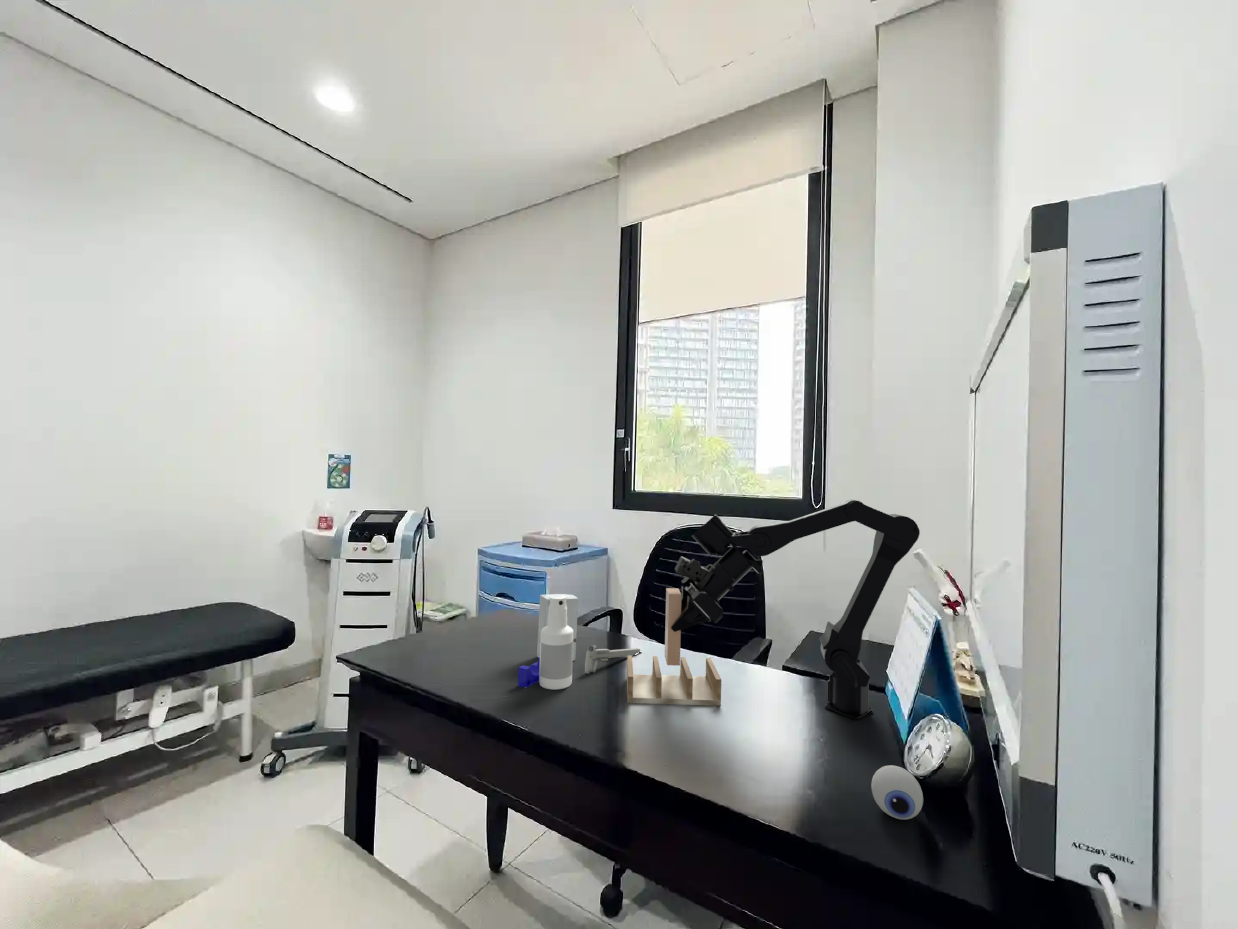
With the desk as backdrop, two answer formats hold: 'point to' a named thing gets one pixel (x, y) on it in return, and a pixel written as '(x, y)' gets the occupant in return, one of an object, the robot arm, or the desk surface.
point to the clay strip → (671, 616)
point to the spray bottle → (556, 647)
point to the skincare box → (571, 616)
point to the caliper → (604, 656)
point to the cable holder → (528, 674)
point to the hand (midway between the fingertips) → (671, 625)
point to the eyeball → (897, 792)
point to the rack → (674, 686)
